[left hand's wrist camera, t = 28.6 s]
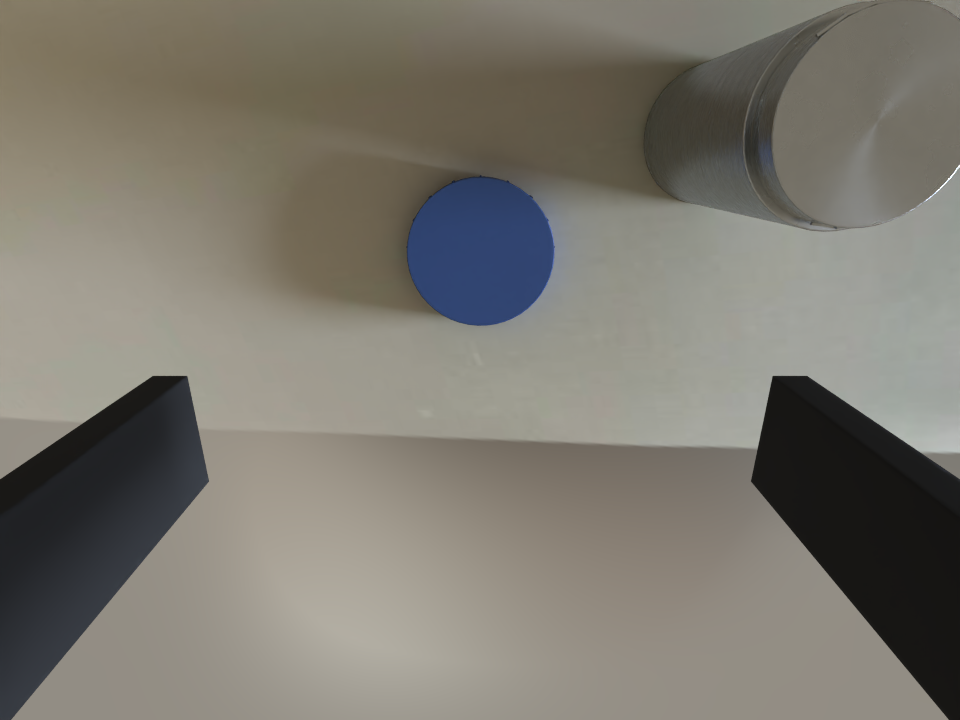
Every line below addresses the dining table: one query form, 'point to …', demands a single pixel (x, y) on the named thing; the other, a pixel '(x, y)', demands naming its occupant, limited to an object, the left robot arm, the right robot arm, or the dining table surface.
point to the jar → (818, 120)
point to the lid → (480, 251)
